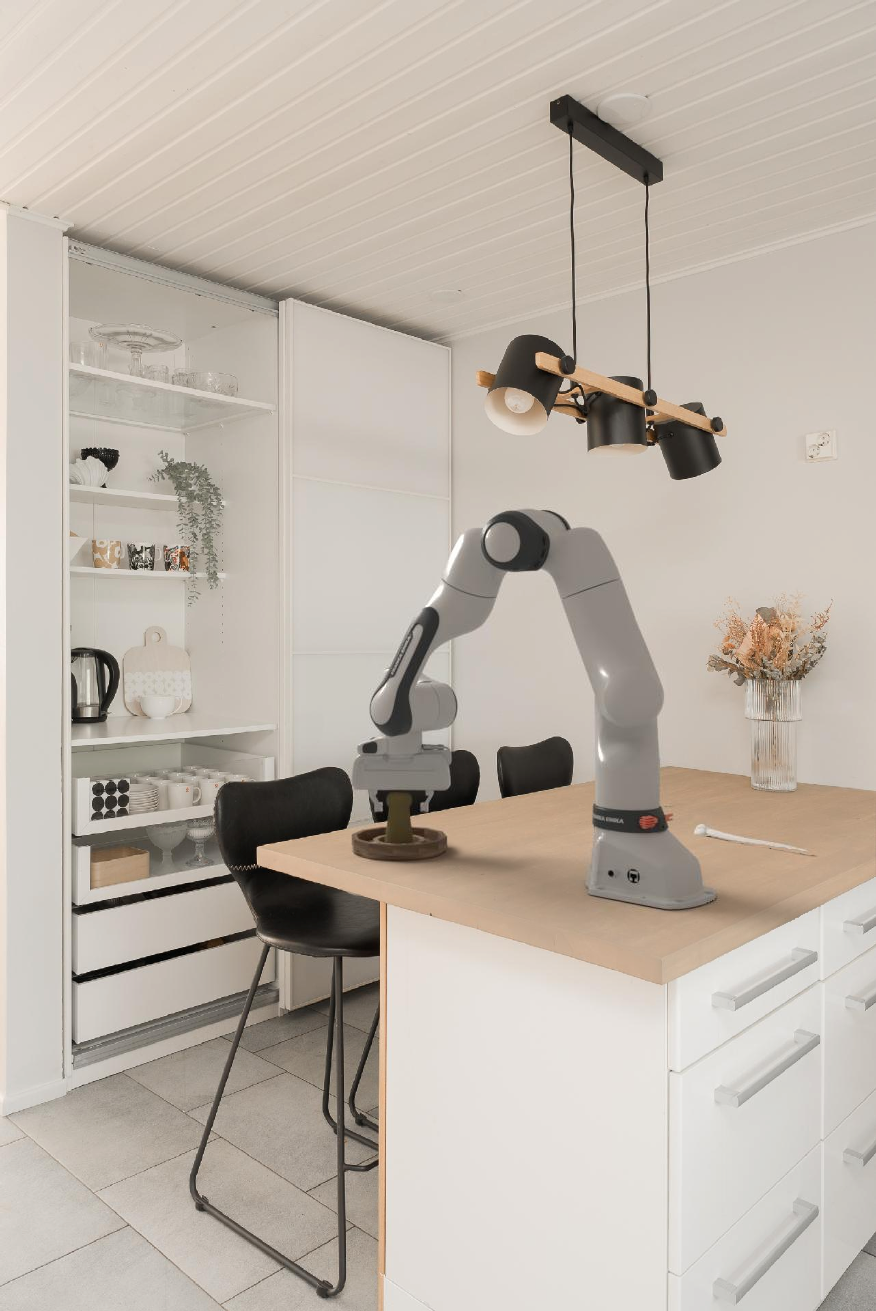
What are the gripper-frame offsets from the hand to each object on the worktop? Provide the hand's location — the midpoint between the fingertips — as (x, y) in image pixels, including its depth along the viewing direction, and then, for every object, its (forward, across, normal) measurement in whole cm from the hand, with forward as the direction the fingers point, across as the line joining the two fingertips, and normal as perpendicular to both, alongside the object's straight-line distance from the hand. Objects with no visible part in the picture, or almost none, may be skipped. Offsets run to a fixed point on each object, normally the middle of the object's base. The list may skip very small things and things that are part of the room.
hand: (401, 811), depth 192 cm
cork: (+7, 0, 0) cm, 7 cm away
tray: (+8, 0, 0) cm, 8 cm away
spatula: (+9, -73, -14) cm, 75 cm away
